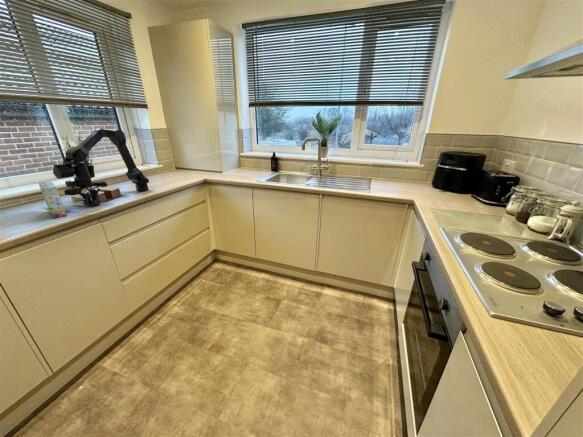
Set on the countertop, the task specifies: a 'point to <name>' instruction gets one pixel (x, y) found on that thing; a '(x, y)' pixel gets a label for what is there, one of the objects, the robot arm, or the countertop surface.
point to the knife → (82, 201)
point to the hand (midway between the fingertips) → (92, 203)
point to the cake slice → (99, 196)
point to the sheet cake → (110, 191)
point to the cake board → (112, 198)
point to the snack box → (52, 199)
